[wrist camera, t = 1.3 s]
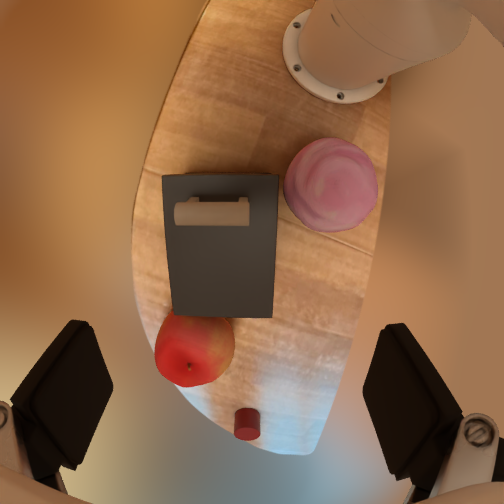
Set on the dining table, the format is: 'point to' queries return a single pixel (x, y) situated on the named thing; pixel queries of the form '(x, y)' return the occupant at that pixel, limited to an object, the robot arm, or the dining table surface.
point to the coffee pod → (247, 424)
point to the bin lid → (221, 243)
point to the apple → (193, 349)
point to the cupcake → (331, 185)
